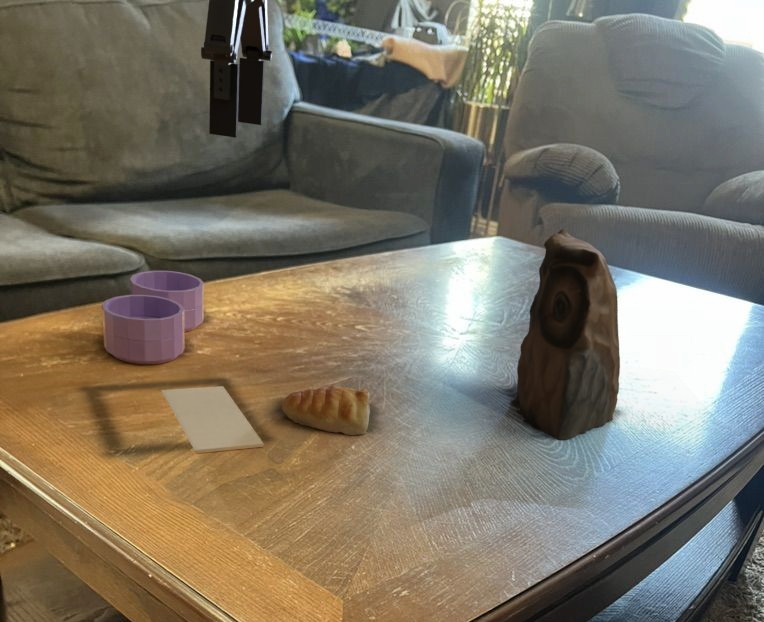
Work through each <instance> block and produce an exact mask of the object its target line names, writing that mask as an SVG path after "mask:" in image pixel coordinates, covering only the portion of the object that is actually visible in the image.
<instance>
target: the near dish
mask: <svg viewBox="0 0 764 622" xmlns="http://www.w3.org/2000/svg"><path fill="white" fill-rule="evenodd" d="M101 316H102V318H101V319H102V333H103V334H102V335H103V347H104V349H105V350H106V352H107V353H109V354H111V355H112V356H113V357H114V358H115V359H117V360H119V361H122V362H125V363H130V364H134V365H135V364H136V365H159V364H164V363H169V362H171V361H173V360H176V359H177V358H178V356H180V355H182V354H183V353H184V351H185V349H186V347H185V346H186V345H185V344H186V343H185V341H186V339H185V335H186V334H185V316H184V308H183V306H182V305H181V304H180V303H178V302H176V301H174V300H171V299H167V298H163V297H158V296H151V295H130V294H124V295H119V296H113V297H111V298H108V299H105V301H104V302H103V303H102V304H101Z"/></svg>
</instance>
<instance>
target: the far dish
mask: <svg viewBox="0 0 764 622" xmlns="http://www.w3.org/2000/svg"><path fill="white" fill-rule="evenodd" d="M129 291H130V294H129V295H151V296H158V297H163V298H167V299H171V300H174V301H176V302H178V303H180V304H181V305H182V306H183V308H184V316H185V332H191V331H192V330H195V329H197V327H199V326H201V325H202V324H203V322H204V320H205V319H204V318H205V306H204V305H205V282H204V281H203V280H202V279H201V278H199V277H197V276H195V275H193V274H189V273H186V272H180V271H171V270H147V271H139V272H137V273H134V274H132V276H131V277H130V278H129Z"/></svg>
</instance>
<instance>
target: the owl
mask: <svg viewBox="0 0 764 622" xmlns="http://www.w3.org/2000/svg"><path fill="white" fill-rule="evenodd" d="M543 247H544V248H545V253H544V257H543V260H542V261H541V264H540V266H539V269H538V274H539V276H538V277H539V285H538V289H537V291H536V293H535V295H534V297H533V301H532V303H531V305H530V307H529V323H528V331H527V334H526V335H525V336H524V338H523V339H522V341H521V344H520V346H519V347H520V349H519V350H520V355H519V358H518V361H517V367H516V374H517V384H516V385H517V386H516V395H515V396H514V398H512V399H511V401H510V403H511V404H512V405H513V406H515V407H517V410H516V412H517V413H518V414H519V415H521V416H522V417H523V420H522V421H523V423H525V424H527V425H529V426H531V427H532V428H533V429H535V430H538V431H541V432H544V433H546V434H547V435H550V436H551V437H553V438H555V439H556V440H561V441H567V440H572V439H573V438H575V437H577V435H580V434H581V435H583V434H586V433H587V432H588V431H591V430H593V429H595V428H601V427H604V426H605V425H606V424H607V423H610V422H611V421H613V420H614V418H613V417H614V412H615V410H616V407H617V404H618V394H619V392H620V372H621V357H620V337H619V319H618V318H619V315H618V313H619V312H618V311H619V309H618V307H619V306H618V302H619V301H618V290H617V285H616V284H615V281H614V278H613V275H612V272H611V270H610V268H609V265H608V263H607V259H606V258H605V256H604V255H603V254H602V253H601V251H600V250H598V249H597V248H596V247H594V246H593V245H591V244H590V243H589V242H587V241H585V240H581V239H579V238H575V237H574V236H572V235H571V234H570V233H568V230H567V229H566V228H562V229H560V230H559V231H558V232H557V233H553V234H552V235H551V236H550V237H549V238H548V239H546V241H544V244H543Z"/></svg>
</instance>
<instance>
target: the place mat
mask: <svg viewBox="0 0 764 622" xmlns="http://www.w3.org/2000/svg"><path fill="white" fill-rule="evenodd" d="M160 391H161V393H162V395H163V397H164V398H165V400H166V402H167V404H168V405H169V408H170V409H171V411H172V413H173V414H174V416H175V418H176V421H177V422H178V424H179V425H180V427H181V429H182V430H183V432H184V434H185V436H186V438H187V439H188V441H189V443H190V445H191V447H192V448H193V450H194V452H195V454H206V453H214V452H226V451H234V450H243V449H244V450H245V449H254V448H264V445H265V444H264V442H263V441H262V439H261V437H260V436H259V435H258V433H257V432H256V431H255V429H254V428H253V427H252V425H251V424H250V422H249V420H247V418H246V416H245V415H244V413H242V411H241V410H240V408H239V407H238V405H237V404H236V403H235V400H233V398H232V397H231V395H230V394H229V393H228V391H227V390H226V389H225V387H224V385H222V386H220V385H219V386H206V387H205V386H203V387H189V388H173V389H160Z"/></svg>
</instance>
